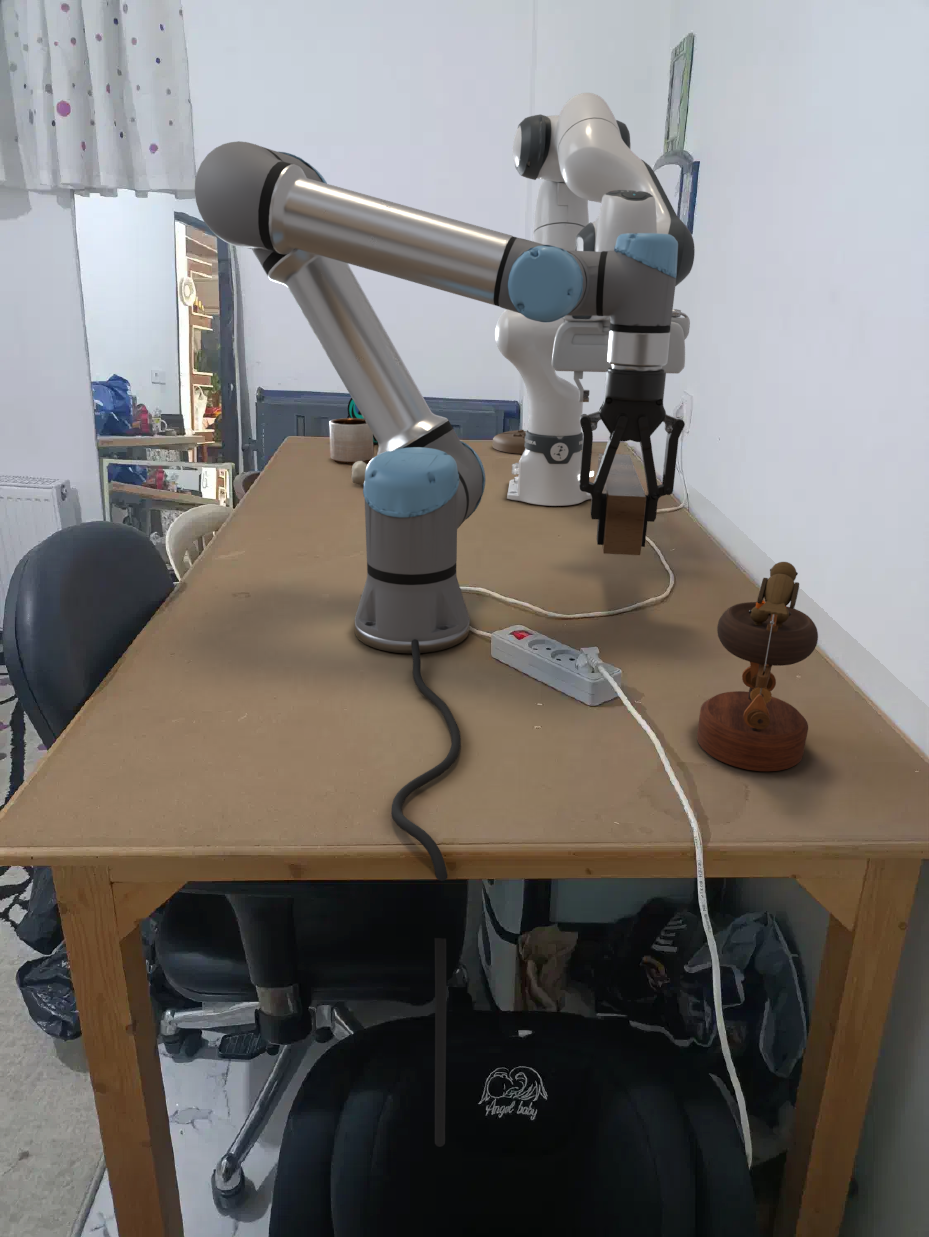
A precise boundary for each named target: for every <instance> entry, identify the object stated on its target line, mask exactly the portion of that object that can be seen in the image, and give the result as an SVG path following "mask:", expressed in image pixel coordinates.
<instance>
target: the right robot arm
mask: <svg viewBox="0 0 929 1237" xmlns="http://www.w3.org/2000/svg"><path fill="white" fill-rule="evenodd" d="M631 146H632V145H631V134H630V131H629V128H628V126H627V124H626V123H625V122H622V121H620V120H617V119H616V117H615V114H614V113H613V111H612V109H611V108H610V106H609V104H608V103H607V102H606V100H605V99H604V98H602V97H601V96H600V95H599V94H595V93H593V92H581V93H578V94H576V95H574V96H572V97H571V98H569V99H568V100H567V101H566V102H565V104H564V105H563V106H562V108H561V110H560V112H559V114H557V115H556V114H555V115H544V114H534V115H531V116H527V117H524V119H523V120H522V121H521V122H520V123H519V124H518V125H517V129H516V131H515V134H514V137H513V140H512V148H511V149H512V158H513V162H514V167H515V170H516V172H517V173H518V174H519V176H521V177H523V178H525V179H529V180H533V181H536V180H537V179H539V180H542V181H541V183H540V184H539V186H538V189H537V194H536V199H535V204H534V210H533V211H534V212H533V223H532V241H533V242H537V243H540V244H544V245H551V246H555V247H558V248H561V249H564V250H567V251H594V252H602V251H611V250H614V247H615V245H616V241H617V238H618V236H619V235H621V234H628V233H634V234H635V233H659V234H669V235H672V236H673V237H674V238H675V239H676V240H677V242H678V257H677V276H676V285H675V287H677V286H678V285H680V284H681V283H682V282H683V281H684V280H685V279H686V278H687V277H688V276H689V275H690V273H691V271H692V270H693V266H694V262H695V252H696V250H695V241H694V237H693V234H692V233H691V231H690V230H689V228H688V227H687V224H685V223H684V222H683V221H682V219H680V218H679V216H678V215H677V213H676V211H675V209H674V206H673V205H672V203H671V201H670V199H669V198H668V195H667V193H666V192H665V189H664V188H663V186H662V183H661V182H660V180H659V178H658V176H657V175H656V173H655V171H654V170H653V168H652V166H650V164H648V163H647V162H646V161H644V160H643V159H641V158H640V157H639V156H638V155H637V154H636V153H634V152H633V150H631V148H632V147H631ZM589 202H595V203H600V208H599V212H598V216H597V218H596V219H595V220H594V221H592V222H590V220H589V217H590V216H589ZM681 316H682V317H681ZM670 326H671V328H670V339H669V350H668V361H667V364H666V365H664V366H662V369H663V370H665V372H666V374H680V373H681V372H682V371H683V370H684V368H685V367H686V366H685V365H686V343H685V342H686V339H687V338H688V336H689V333H690V328H691V321H690V317H689V316H688V315H687V314H686V313H685V312H683V311H682V310H681V309H677V308H676V309H675V308H673V310H672V319H671V325H670ZM609 329H610V316H573V315H566V316H564V317H563V318H560V319H558V320H556V321H553V322H539V321H535V320H531V319H528V318H526V317H525V316H524V315H522V314H521V313H518V312H514V311H511V310H507V309H504V311H502V312H501V314H500V315H499V317H498V319H497V322H496V324H495V329H494V340H495V344H496V347H497V348H498V351H499V352H500V353H501V355H502V357H504V358H505V359H506V360H507V361H509V362H510V363H511V364H512V365H513V367H515V368H516V370H517V372H518V373H519V374H520V377H521V378H522V381H523V382H524V385H525V390H526V395H527V410H528V411H527V412H528V416H527V417H528V418H527V420H528V421H527V430H525V431H526V436H525V445H524V446H525V451H524V453H523V454H521V456H520V459H519V460H518V462H515V463H511V475H518V476H514V478H512V479H510V480H509V483H508V489H507V495H506V499H508V500H510V501H511V500H512V501H519V502H523V503H526V504H527V503H528V504H531V505H538V506H549V507H550V506H551V507H557V506H558V507H559V506H560V507H561V506H573V505H579V504H580V503H583V502H585V501H587V500H591V499H592V496H591V494H589V493H587V492H583V491H581V490H580V486H579V479H580V467H581V454H582V442H583V431H582V427H581V424H580V416H581V415H582V414H583V410H584V403H589V402H590V397H589V396H590V390H589V389H585V388H584V386H583V384H582V382H581V380H583V378H584V373H606V370H608V368H610V367H611V364H609V363H608V362H607V355H608V342H609V331H610V330H609ZM556 372H573V380H574V383H575V384H576V385H574V384H573V383H572V382H570V381H568V380H566V379H565V378H563V377H561V376H559V375H558V374H557V373H556ZM594 475H595V471H594V470H592V471H591V470H590V478H591V477H594Z"/></svg>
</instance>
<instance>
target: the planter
mask: <svg viewBox="0 0 929 1237" xmlns="http://www.w3.org/2000/svg"><path fill="white" fill-rule="evenodd" d="M328 424H329V425H328V426H329V453H330V454H329V455H330V456H329V457H330V459H331V460H332V461H333V462H335V463H341V464H354V463H355V462H358V461H363V462H364V463H367V462H368V463H369V462H370V461H371V460H372V459H373V458H374V457H375V455H374V452H375V451H374V450H375V449H374V444H373V433H372V431H371V430H370V428H369V426H368V425H367V423H366V421H365V419H362V418H347V417H342V418H341V417H340V418H335V419H334V418H333V419H331V420H329V421H328Z"/></svg>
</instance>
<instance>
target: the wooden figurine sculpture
mask: <svg viewBox="0 0 929 1237" xmlns="http://www.w3.org/2000/svg"><path fill="white" fill-rule="evenodd" d="M798 574H799V572H797V569H796V567H795V566H794V565H793V564H792V563H791V562H788V561H779V562H777V563H775V564H774V565H773V566H772V567H771V568H769V575H770V576H769V577H763V578H762V581H761V585H760V588H759V592H758V596H757V600H756V601H747V602H740V603H737V604H734V605H732V606H730V607H728V608H727V609H725V611H723V612H722V614H721V615H720V617H719V620H718V622H717V628H716V632H717V637H718V640H719V641H720V644H721V645H722V646H723V648H724V649H725V650H726V651H727V652H728V653H730V654H731V655H733V656H735V657H736V658H738V659H741V660H743V661H747V662H749V666H747V667H746V668H745V669H744V670H743V672H742V673H741V678H742V679H741V680H742V683H743V684H744V685H745V686H746V687H748V688H749V689H748V691H745V690H744V691H743V690H739V691H737V690H735V691H734V690H733V691H725V692H722V693H719V694H716V695H714V696H712V697H711V698H708V699H707V700H705V701H704V702H703V703H702V705H701V706H700V709H699V710H700V711H699V718H698V724H697V732H696V739H697V742H698V744H699V746H700V748H702V750H703V751H704V752H706V753H707V754H708V755H710V756H711V757H712V758H714V759H716V760H718V761H719V762H722V763H724V764H726V765H729V766H731V767H732V766H733V767H736V768H739V769H743V770H748V771H753V772H754V771H755V772H778V771H783V770H787V769H791V768H792V767H794V766H795V767H796V765H798V764H799V763H800V762H801V761H802V759H803V757H804V752H805V747H806V742H807V737H808V732H809V724H808V721H807V720H806V718H805V716H803V715H802V714H801V712H800V711H799V710H798V709H797V708H796V707H795V706H794V705H792V704H790V703H788V702H786V701H784V700H783V699H781V698H778V697H774V696H772V691H773V690H774V689H775V687H776V685H777V679H776V676H775V675H774V674H773V673H772V671H771V670H772V668H773V667H774V666H777V667H779V666H790V665H795V664H797V663H800V662H802V661H804V660H806V659H808V658H809V657H810V656H811V655H812V654H813V653H814V651H815V649H816V647H817V645H818V641H819V631H818V628H817V626H816V624H815V622H814V621H813V619H812V618H811V617H810V616H809V615H807V614H806V613H805V612H803V611H801V610H799V609H796V608H795V606H796V603H797V598H798V595H799V588H800V583H799V582H797V581H796V578H797V576H798ZM788 605H789V606H788Z"/></svg>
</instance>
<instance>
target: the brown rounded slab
mask: <svg viewBox="0 0 929 1237" xmlns="http://www.w3.org/2000/svg"><path fill="white" fill-rule="evenodd" d="M526 431H527V430H524V429H523V428H522V429H516V430H509V431H504V432H500V433H497V434H495V435H494V436H493V437H492V448H493V449H494V450H496V451H499V452H503V453H509V454H518V455H519V454H520V455H522V454H523V453H524V451H525V446H524V445H525V436H526Z"/></svg>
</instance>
